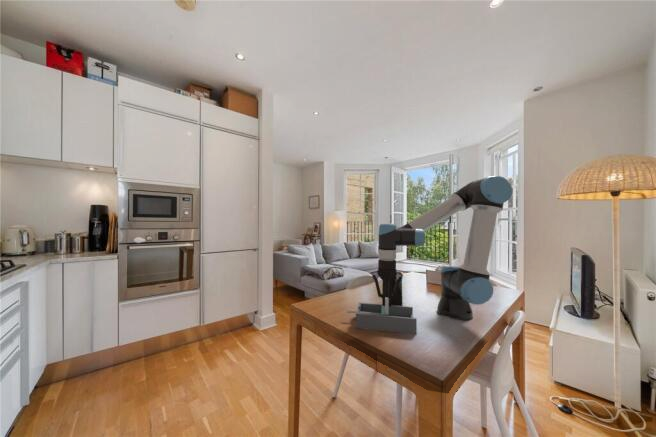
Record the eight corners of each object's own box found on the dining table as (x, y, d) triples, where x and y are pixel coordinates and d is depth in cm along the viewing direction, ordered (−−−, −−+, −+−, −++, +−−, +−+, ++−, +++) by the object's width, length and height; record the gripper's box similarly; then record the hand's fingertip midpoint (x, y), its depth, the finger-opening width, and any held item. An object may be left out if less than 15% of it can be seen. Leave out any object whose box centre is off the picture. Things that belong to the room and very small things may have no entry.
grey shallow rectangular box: (412, 320, 108) (412, 306, 108) (416, 334, 94) (416, 319, 94) (359, 315, 113) (359, 302, 113) (355, 328, 99) (355, 313, 99)
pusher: (384, 315, 109) (384, 304, 109) (385, 326, 98) (385, 314, 98) (349, 312, 113) (349, 301, 113) (345, 322, 102) (345, 310, 102)
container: (403, 317, 111) (403, 274, 111) (384, 315, 113) (384, 273, 113) (401, 310, 119) (402, 270, 120) (383, 308, 121) (383, 269, 122)
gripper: (402, 258, 106) (401, 311, 105) (372, 257, 109) (371, 309, 108) (403, 261, 98) (403, 318, 98) (371, 259, 101) (371, 315, 101)
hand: (386, 313), depth 103 cm, fingers closed
